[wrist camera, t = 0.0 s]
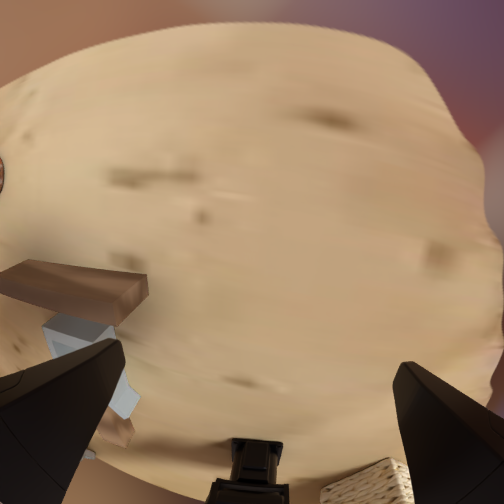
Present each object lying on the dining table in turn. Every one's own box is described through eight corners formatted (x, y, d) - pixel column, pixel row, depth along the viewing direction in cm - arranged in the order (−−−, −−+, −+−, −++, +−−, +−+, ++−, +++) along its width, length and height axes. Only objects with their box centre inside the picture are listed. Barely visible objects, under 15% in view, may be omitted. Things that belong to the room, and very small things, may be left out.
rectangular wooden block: (135, 430, 32) (125, 448, 28) (113, 422, 32) (103, 439, 28) (117, 384, 29) (103, 404, 25) (94, 377, 29) (79, 395, 25)
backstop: (148, 294, 24) (116, 326, 18) (30, 274, 26) (-2, 292, 20) (146, 274, 23) (112, 303, 18) (27, 259, 25) (-6, 275, 19)
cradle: (141, 399, 29) (129, 421, 25) (78, 378, 30) (63, 395, 26) (122, 325, 25) (103, 345, 22) (54, 308, 26) (34, 323, 23)
